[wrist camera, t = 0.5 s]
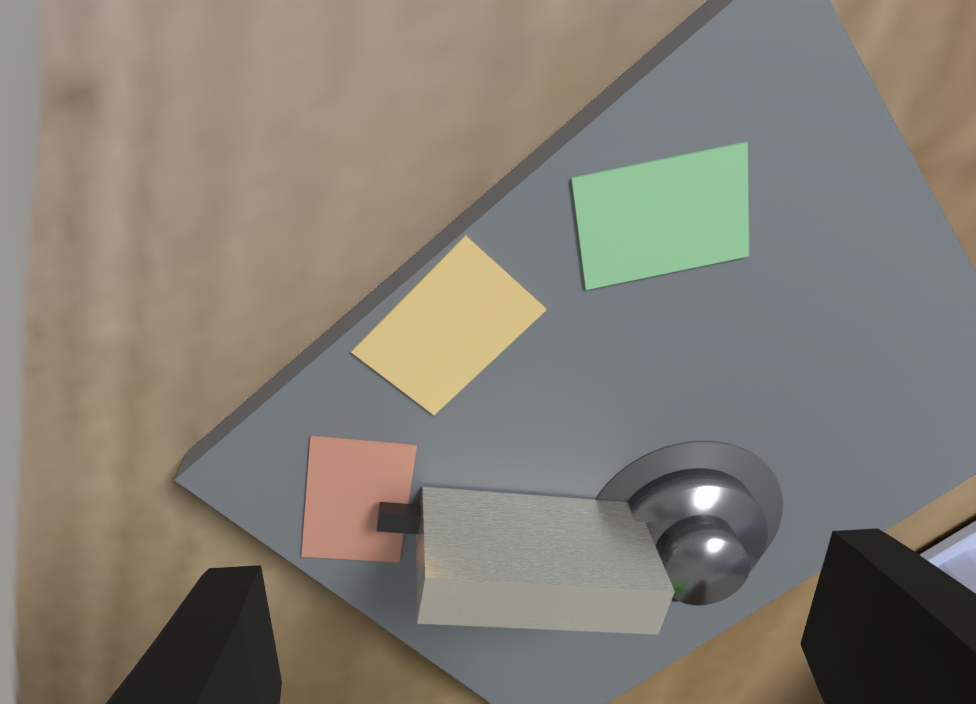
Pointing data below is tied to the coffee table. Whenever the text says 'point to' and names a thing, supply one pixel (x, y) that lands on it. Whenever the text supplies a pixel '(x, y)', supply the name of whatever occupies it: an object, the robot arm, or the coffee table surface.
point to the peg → (580, 553)
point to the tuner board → (638, 346)
